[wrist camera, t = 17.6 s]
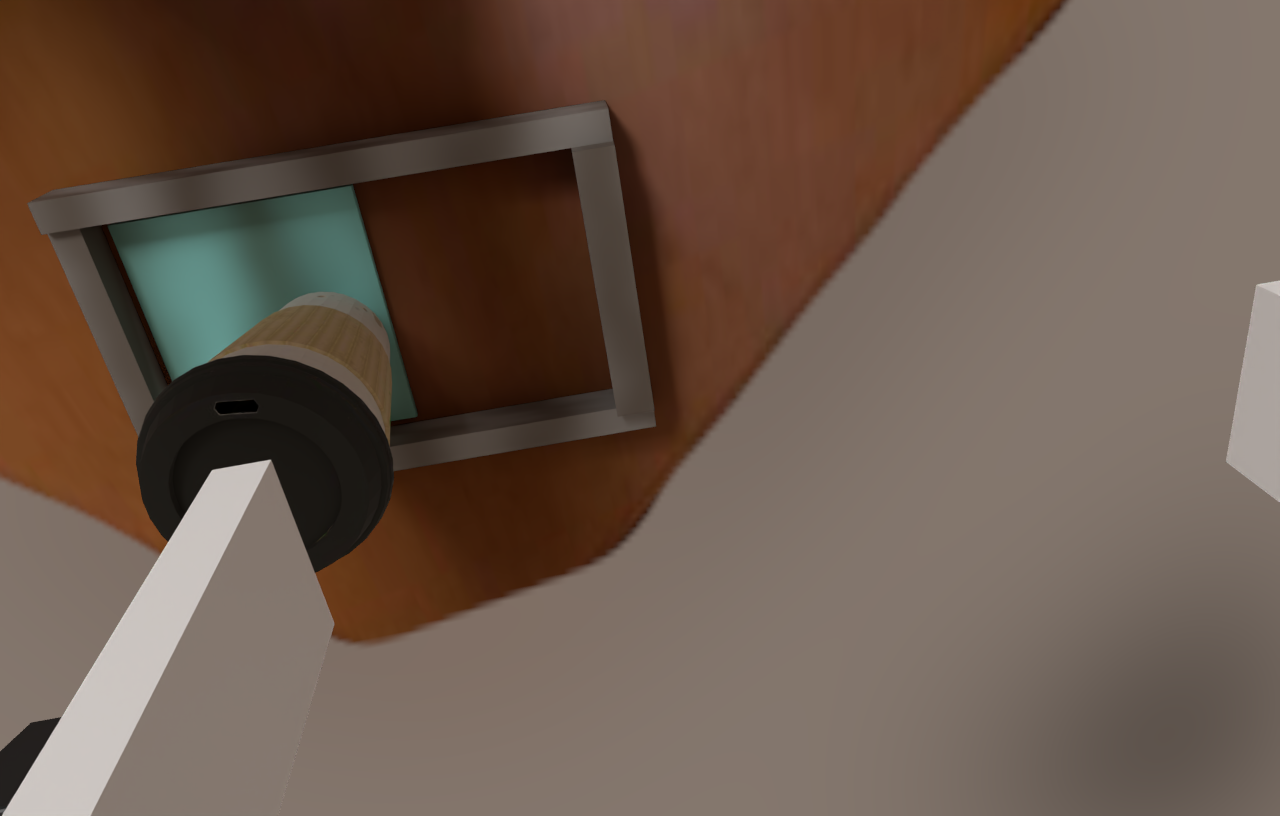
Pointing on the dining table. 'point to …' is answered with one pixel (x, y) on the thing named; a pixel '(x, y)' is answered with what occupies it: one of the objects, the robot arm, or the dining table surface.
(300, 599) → the robot arm
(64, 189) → the bay
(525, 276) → the dining table surface
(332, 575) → the dining table surface
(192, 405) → the coffee cup
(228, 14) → the dining table surface
